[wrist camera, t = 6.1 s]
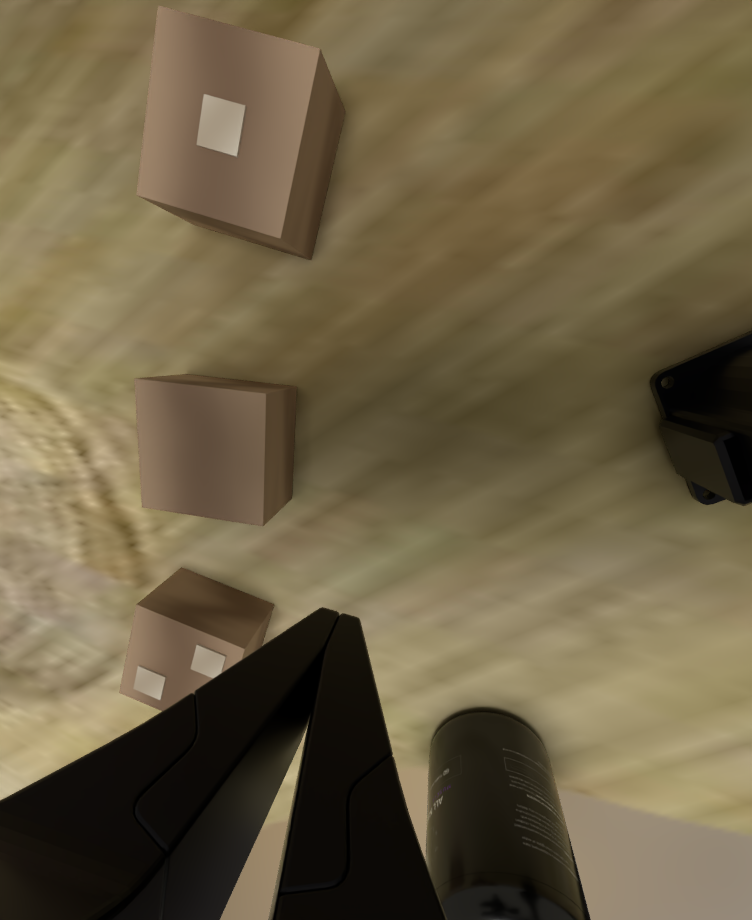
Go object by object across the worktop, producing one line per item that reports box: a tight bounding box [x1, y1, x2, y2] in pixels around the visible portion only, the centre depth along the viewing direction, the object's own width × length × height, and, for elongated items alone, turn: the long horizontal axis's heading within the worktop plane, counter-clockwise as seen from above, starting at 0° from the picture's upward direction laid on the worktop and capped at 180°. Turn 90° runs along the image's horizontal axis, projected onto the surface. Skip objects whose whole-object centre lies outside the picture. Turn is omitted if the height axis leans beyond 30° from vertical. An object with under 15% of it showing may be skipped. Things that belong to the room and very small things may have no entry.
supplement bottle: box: [426, 712, 591, 920], centre depth 19 cm, size 7×7×12 cm
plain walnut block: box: [134, 374, 297, 526], centre depth 20 cm, size 6×6×4 cm
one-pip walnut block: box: [137, 6, 345, 260], centre depth 17 cm, size 6×6×4 cm
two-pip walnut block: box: [119, 567, 274, 711], centre depth 24 cm, size 6×6×4 cm
